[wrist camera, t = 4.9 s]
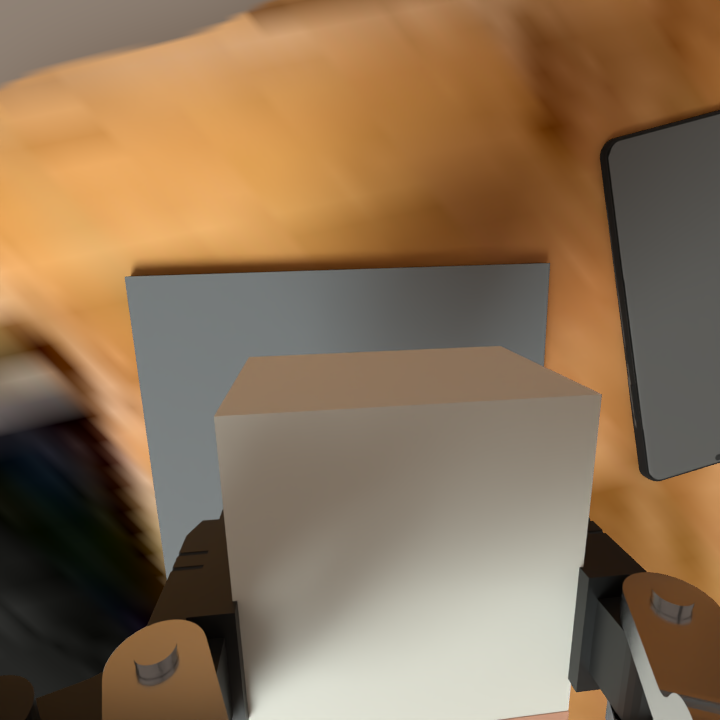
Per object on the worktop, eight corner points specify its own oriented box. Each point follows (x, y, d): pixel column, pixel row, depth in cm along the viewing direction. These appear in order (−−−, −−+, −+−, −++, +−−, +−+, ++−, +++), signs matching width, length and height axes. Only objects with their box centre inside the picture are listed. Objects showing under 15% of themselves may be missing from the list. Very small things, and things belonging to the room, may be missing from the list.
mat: (129, 276, 17) (124, 276, 16) (543, 263, 18) (550, 263, 18) (199, 781, 22) (196, 793, 21) (516, 735, 23) (521, 745, 23)
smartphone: (769, 95, 17) (787, 444, 21) (747, 104, 18) (768, 436, 22) (603, 140, 17) (648, 486, 20) (588, 146, 18) (634, 477, 21)
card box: (248, 357, 9) (213, 416, 6) (500, 346, 10) (602, 394, 7) (273, 666, 11) (257, 850, 8) (485, 642, 12) (558, 805, 8)
